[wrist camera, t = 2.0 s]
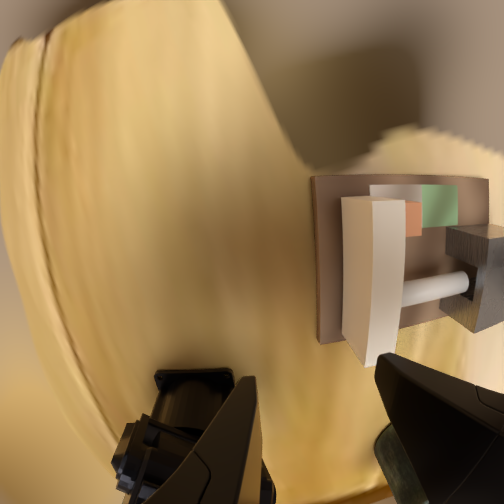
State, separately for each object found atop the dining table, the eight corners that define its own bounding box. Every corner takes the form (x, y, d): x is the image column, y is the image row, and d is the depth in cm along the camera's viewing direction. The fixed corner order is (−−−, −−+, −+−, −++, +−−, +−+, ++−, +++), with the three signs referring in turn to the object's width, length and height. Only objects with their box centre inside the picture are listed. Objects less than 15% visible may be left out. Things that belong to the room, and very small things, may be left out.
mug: (417, 389, 23) (474, 464, 12) (465, 410, 26) (507, 461, 14) (351, 453, 25) (380, 531, 13) (412, 462, 27) (442, 516, 16)
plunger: (341, 333, 19) (364, 368, 15) (341, 197, 17) (372, 201, 13) (437, 311, 19) (469, 335, 15) (445, 194, 17) (486, 199, 13)
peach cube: (373, 230, 18) (395, 238, 15) (372, 200, 17) (394, 203, 14) (397, 227, 18) (421, 235, 15) (397, 199, 17) (421, 202, 14)
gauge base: (316, 338, 21) (320, 345, 20) (310, 176, 18) (315, 176, 17) (472, 302, 21) (479, 306, 20) (481, 178, 19) (489, 179, 18)
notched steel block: (438, 308, 20) (473, 333, 15) (446, 226, 18) (489, 238, 14) (480, 296, 20) (514, 315, 15) (488, 223, 19) (527, 233, 14)
